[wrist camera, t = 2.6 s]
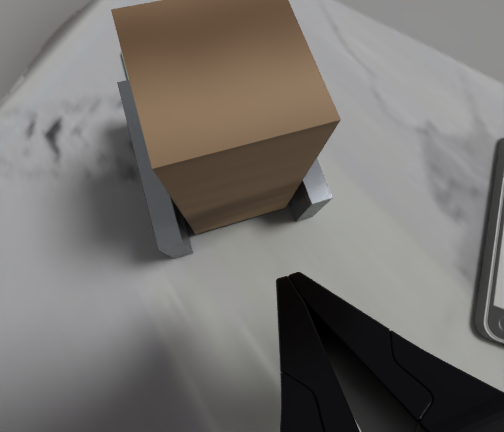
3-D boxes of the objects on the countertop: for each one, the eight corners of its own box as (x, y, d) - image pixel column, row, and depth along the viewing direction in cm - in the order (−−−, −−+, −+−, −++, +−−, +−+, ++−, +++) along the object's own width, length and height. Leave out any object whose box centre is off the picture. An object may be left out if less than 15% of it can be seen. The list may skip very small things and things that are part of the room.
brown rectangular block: (285, 207, 19) (340, 119, 9) (195, 234, 18) (152, 168, 8) (257, 128, 20) (278, -21, 10) (172, 150, 19) (110, 9, 10)
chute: (312, 216, 19) (332, 197, 15) (174, 258, 18) (158, 249, 14) (241, 29, 23) (243, -24, 19) (121, 53, 22) (97, 2, 18)
